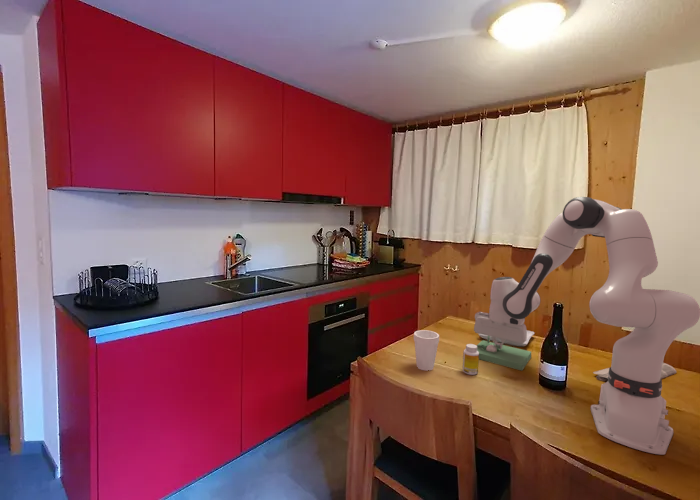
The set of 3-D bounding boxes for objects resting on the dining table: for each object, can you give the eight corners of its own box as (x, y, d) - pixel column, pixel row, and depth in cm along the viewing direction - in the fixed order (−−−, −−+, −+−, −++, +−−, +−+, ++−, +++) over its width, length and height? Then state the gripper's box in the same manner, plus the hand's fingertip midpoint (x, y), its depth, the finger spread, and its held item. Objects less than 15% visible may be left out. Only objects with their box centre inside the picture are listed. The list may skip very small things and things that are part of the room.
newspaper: (628, 393, 119) (629, 383, 119) (589, 377, 130) (590, 368, 130) (677, 373, 135) (679, 364, 135) (639, 361, 146) (640, 352, 146)
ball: (489, 358, 147) (497, 353, 145) (482, 350, 149) (489, 344, 147) (492, 355, 150) (500, 349, 148) (485, 346, 152) (492, 341, 150)
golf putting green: (522, 370, 134) (522, 364, 134) (469, 356, 146) (470, 350, 146) (531, 357, 146) (531, 351, 146) (482, 345, 159) (482, 340, 158)
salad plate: (489, 328, 183) (489, 322, 183) (534, 337, 171) (535, 331, 170) (477, 340, 166) (477, 333, 166) (526, 351, 154) (527, 344, 153)
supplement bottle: (480, 375, 129) (482, 348, 128) (465, 375, 129) (467, 348, 128) (474, 368, 135) (476, 343, 134) (460, 368, 135) (461, 342, 134)
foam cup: (432, 374, 129) (434, 340, 128) (409, 368, 134) (410, 335, 133) (440, 365, 137) (442, 333, 136) (418, 359, 142) (419, 328, 141)
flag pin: (488, 343, 155) (490, 316, 154) (487, 342, 155) (488, 316, 154) (491, 340, 158) (493, 314, 156) (489, 340, 158) (491, 314, 157)
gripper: (472, 312, 149) (470, 343, 150) (525, 322, 136) (522, 356, 138) (477, 309, 154) (475, 339, 155) (529, 318, 141) (526, 351, 143)
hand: (498, 347), depth 147 cm, fingers closed
